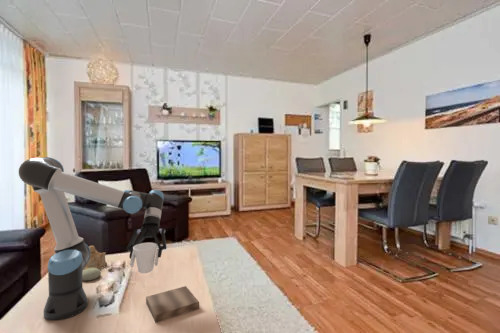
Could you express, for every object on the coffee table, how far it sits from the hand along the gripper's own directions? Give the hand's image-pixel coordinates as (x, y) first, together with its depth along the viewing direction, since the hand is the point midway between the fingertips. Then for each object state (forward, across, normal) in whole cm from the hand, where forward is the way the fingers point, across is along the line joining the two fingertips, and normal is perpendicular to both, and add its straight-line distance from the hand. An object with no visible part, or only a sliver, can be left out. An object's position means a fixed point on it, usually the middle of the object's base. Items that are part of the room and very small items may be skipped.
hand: (143, 265), depth 114 cm
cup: (+1, 0, -5) cm, 5 cm away
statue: (-18, +39, -44) cm, 61 cm away
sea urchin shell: (-8, +35, -34) cm, 50 cm away
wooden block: (+14, -12, -12) cm, 22 cm away
